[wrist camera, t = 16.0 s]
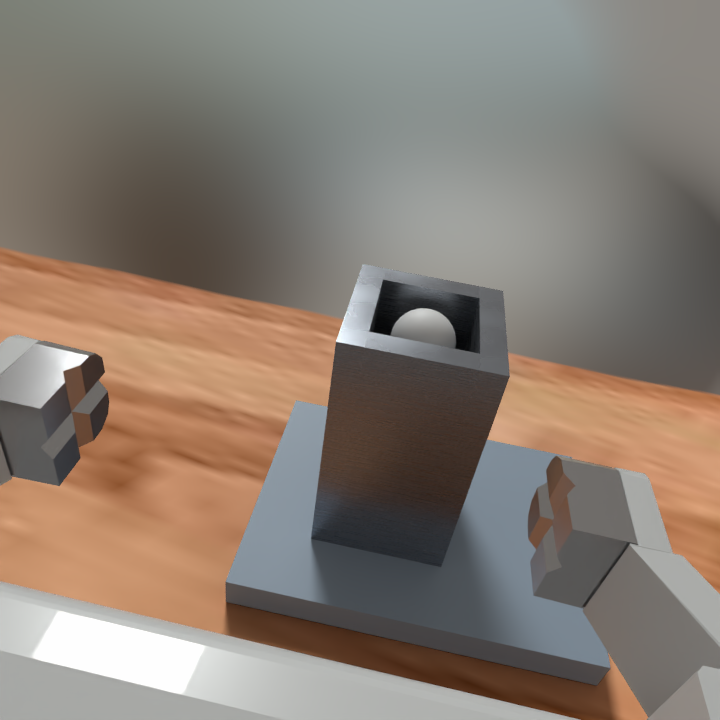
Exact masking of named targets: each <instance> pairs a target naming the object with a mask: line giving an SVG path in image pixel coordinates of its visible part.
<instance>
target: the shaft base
mask: <svg viewBox="0 0 720 720" xmlns="http://www.w3.org/2000/svg"><path fill="white" fill-rule="evenodd" d="M390 336H393V337H398V338H403V339H408V340H413V341H418V342H423V343H428V344H433V345H438V346H444V347H449V348H454V349H455V346H456V336H455V331H454V329H453V326H452V325H451V323H450V322H449V320H448V319H447V318H446V317H445V316H444V315H442V314H441V313H439V312H437V311H435V310H432V309H426V308H419V309H415V310H411V311H409V312H407V313H406V314H404V315H402V316H401V317H400V318H399V319H398V320H397V322H396V323H395V325H394V326H393V329H392V332H391V335H390ZM327 409H328V407H326V406H321V405H316V404H311V403H306V402H301V401H297V400H296V402H295V405H294V408H293V410H292V413H291V415H290V418H289V420H288V423H287V426H286V428H285V431H284V433H283V436H282V438H281V441H280V444H279V446H278V449H277V451H276V454H275V456H274V459H273V462H272V464H271V467H270V469H269V472H268V474H267V477H266V479H265V482H264V485H263V487H262V490H261V492H260V495H259V497H258V500H257V503H256V505H255V508H254V510H253V513H252V515H251V518H250V521H249V523H248V526H247V528H246V531H245V533H244V536H243V539H242V541H241V544H240V546H239V549H238V551H237V554H236V557H235V559H234V562H233V564H232V567H231V569H230V572H229V574H228V577H227V580H226V602H229V603H234V604H238V605H242V606H247V607H251V608H256V609H260V610H265V611H269V612H273V613H278V614H282V615H287V616H291V617H296V618H300V619H304V620H309V621H313V622H318V623H322V624H327V625H331V626H335V627H340V628H344V629H349V630H353V631H357V632H362V633H366V634H371V635H375V636H380V637H384V638H388V639H393V640H397V641H402V642H406V643H411V644H415V645H419V646H424V647H428V648H433V649H437V650H442V651H446V652H450V653H455V654H459V655H464V656H468V657H473V658H477V659H481V660H486V661H490V662H495V663H499V664H504V665H508V666H512V667H517V668H521V669H526V670H530V671H535V672H539V673H543V674H548V675H552V676H557V677H561V678H566V679H570V680H574V681H579V682H583V683H588V684H592V685H598V684H599V682H600V681H601V680H602V678H603V677H604V676H605V675H606V673H607V672H608V671H609V670H610V662H609V657H608V651H607V650H606V648H605V646H604V645H603V643H602V642H601V640H600V638H599V637H598V635H597V634H596V632H595V630H594V629H593V627H592V625H591V624H590V622H589V621H588V619H587V617H586V616H585V614H584V613H583V608H579V607H575V606H571V605H568V604H564V603H560V602H556V601H552V600H548V599H544V598H540V597H537V596H533V587H532V576H531V565H530V561H531V559H532V557H533V555H534V553H535V551H536V549H535V547H534V546H533V545H532V543H531V542H530V541H529V539H528V514H529V509H530V505H531V501H532V498H533V496H534V494H535V492H536V489H537V487H539V486H541V485H543V484H545V483H547V475H546V469H547V467H548V466H549V464H550V462H551V460H552V459H553V458H554V457H555V456H556V455H557V456H561V457H566V458H571V459H572V457H568V456H563V455H558V454H554V453H549V452H544V451H539V450H534V449H529V448H524V447H520V446H515V445H510V444H505V443H500V442H495V441H491V440H487V441H486V444H485V446H484V449H483V452H482V455H481V457H480V460H479V463H478V466H477V469H476V471H475V474H474V477H473V480H472V483H471V485H470V488H469V491H468V494H467V497H466V499H465V502H464V505H463V508H462V510H461V513H460V516H459V519H458V522H457V524H456V527H455V530H454V533H453V536H452V538H451V541H450V544H449V547H448V550H447V552H446V555H445V558H444V561H443V563H442V566H441V567H438V566H434V565H429V564H424V563H420V562H415V561H411V560H406V559H401V558H397V557H392V556H388V555H383V554H378V553H374V552H369V551H365V550H360V549H355V548H351V547H346V546H342V545H337V544H333V543H328V542H323V541H319V540H314V539H311V533H312V525H313V518H314V510H315V502H316V494H317V487H318V479H319V471H320V463H321V456H322V448H323V440H324V432H325V424H326V417H327Z"/></svg>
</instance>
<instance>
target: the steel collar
mask: <svg viewBox="0 0 720 720" xmlns="http://www.w3.org/2000/svg"><path fill="white" fill-rule="evenodd" d="M419 308H426V309H432V310H435V311H437V312H439V313H441V314H442V315H444V316H445V317H446V318H447V319H448V320H449V322H450V323H451V325H452V326H453V329H454V331H455V336H456V346H455V349H454V348H449V347H444V346H438V345H433V344H428V343H423V342H418V341H413V340H408V339H403V338H398V337H393V336H390V335H391V332H392V329H393V326H394V325H395V323H396V322H397V320H398V319H399V318H400V317H401V316H402V315H404V314H406V313H407V312H409V311H411V310H415V309H419ZM509 377H510V375H509V362H508V349H507V336H506V324H505V311H504V298H503V291H500V290H495V289H489V288H485V287H479V286H474V285H469V284H463V283H459V282H453V281H448V280H443V279H438V278H433V277H427V276H422V275H417V274H412V273H406V272H401V271H395V270H391V269H386V268H381V267H375V266H370V265H365V264H363V265H362V268H361V271H360V274H359V277H358V280H357V283H356V286H355V289H354V292H353V294H352V297H351V300H350V303H349V306H348V309H347V312H346V315H345V318H344V320H343V323H342V326H341V329H340V332H339V335H338V338H337V341H336V347H335V355H334V362H333V370H332V378H331V386H330V393H329V401H328V409H327V417H326V424H325V432H324V440H323V448H322V456H321V463H320V471H319V479H318V487H317V494H316V502H315V510H314V518H313V525H312V533H311V539H314V540H319V541H323V542H328V543H333V544H337V545H342V546H346V547H351V548H355V549H360V550H365V551H369V552H374V553H378V554H383V555H388V556H392V557H397V558H401V559H406V560H411V561H415V562H420V563H424V564H429V565H434V566H438V567H441V566H442V563H443V561H444V558H445V555H446V552H447V550H448V547H449V544H450V541H451V538H452V536H453V533H454V530H455V527H456V524H457V522H458V519H459V516H460V513H461V510H462V508H463V505H464V502H465V499H466V497H467V494H468V491H469V488H470V485H471V483H472V480H473V477H474V474H475V471H476V469H477V466H478V463H479V460H480V457H481V455H482V452H483V449H484V446H485V444H486V441H487V438H488V435H489V432H490V430H491V427H492V424H493V421H494V418H495V416H496V413H497V410H498V407H499V404H500V402H501V399H502V396H503V393H504V391H505V388H506V385H507V382H508V379H509Z"/></svg>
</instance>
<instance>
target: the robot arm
mask: <svg viewBox="0 0 720 720" xmlns="http://www.w3.org/2000/svg"><path fill="white" fill-rule="evenodd" d="M104 373H105V370H104V365H103V360H102V357H100V356H99V355H97V354H96V353H92V352H87V351H83V350H79V349H75V348H71V347H67V346H63V345H59V344H55V343H51V342H47V341H40V340H36V339H32V338H28V337H24V336H20V335H15V336H11V337H8V338H6V339H5V340H4V341H3V342H2V343H1V344H0V485H2V484H4V483H5V482H7V481H9V480H11V479H12V477H11V476H13V477H18V478H23V479H28V480H32V481H37V482H42V483H47V484H52V485H57V486H60V484H61V483H62V482H63V480H64V479H65V478H66V477H67V475H68V474H69V473H70V471H71V470H72V469H73V467H74V466H75V465H76V463H77V462H78V461H79V459H80V453H79V447H81V446H83V445H85V444H87V443H89V442H91V441H93V440H94V439H95V438H96V437H97V435H98V434H99V432H100V431H101V430H102V428H103V425H104V423H105V420H106V417H107V415H108V407H109V398H108V391H107V390H106V389H105V387H104V386H103V385H102V384H101V383H100V382H99V379H100V377H101V376H102V375H103V374H104ZM546 475H547V483H545V484H543V485H541V486H539V487H537V489H536V492H535V494H534V496H533V498H532V501H531V505H530V509H529V514H528V539H529V541H530V542H531V543H532V545H533V546H534V547H535V549H536V551H535V553H534V555H533V557H532V559H531V561H530V565H531V576H532V587H533V596H537V597H540V598H544V599H548V600H552V601H556V602H560V603H564V604H568V605H571V606H575V607H579V608H583V613H584V614H585V616H586V617H587V619H588V621H589V622H590V624H591V625H592V627H593V629H594V630H595V632H596V634H597V635H598V637H599V638H600V640H601V642H602V643H603V645H604V646H605V648H606V650H607V651H608V653H609V654H610V656H611V658H612V659H613V661H614V663H615V664H616V666H617V667H618V669H619V671H620V672H621V674H622V675H623V677H624V679H625V680H626V682H627V683H628V685H629V687H630V688H631V690H632V691H633V693H634V695H635V696H636V698H637V700H638V701H639V703H640V704H641V706H642V708H643V709H644V711H645V712H646V714H647V716H648V717H649V718H648V719H647V720H720V594H719V593H718V592H717V591H716V590H715V589H714V588H713V587H712V586H711V585H710V584H709V583H708V582H707V581H706V580H705V579H704V578H703V577H702V576H701V575H700V574H699V573H698V571H697V570H696V569H695V568H694V567H693V566H692V565H691V564H690V563H689V562H688V561H687V560H686V559H685V558H684V557H683V556H682V555H677V554H673V551H672V548H671V545H670V542H669V539H668V536H667V533H666V530H665V527H664V523H663V520H662V517H661V514H660V511H659V508H658V505H657V502H656V499H655V496H654V493H653V489H652V486H651V483H650V480H649V478H648V477H647V476H646V475H645V474H644V473H639V472H634V471H629V470H625V469H620V468H612V467H608V466H603V465H599V464H594V463H589V462H585V461H580V460H575V459H571V458H566V457H561V456H557V455H556V456H555V457H554V458H553V459H552V460H551V462H550V464H549V466H548V467H547V469H546ZM0 720H579V719H575V718H571V717H567V716H563V715H558V714H554V713H550V712H546V711H542V710H538V709H533V708H529V707H525V706H521V705H517V704H512V703H508V702H504V701H500V700H496V699H492V698H487V697H483V696H479V695H475V694H471V693H466V692H462V691H458V690H454V689H450V688H445V687H441V686H437V685H433V684H429V683H424V682H420V681H416V680H412V679H408V678H403V677H399V676H395V675H391V674H387V673H383V672H378V671H374V670H370V669H366V668H362V667H357V666H353V665H349V664H345V663H341V662H336V661H332V660H328V659H324V658H320V657H315V656H311V655H307V654H303V653H299V652H294V651H290V650H286V649H282V648H278V647H274V646H269V645H265V644H261V643H257V642H253V641H248V640H244V639H240V638H236V637H232V636H227V635H223V634H219V633H215V632H211V631H206V630H202V629H198V628H194V627H190V626H186V625H181V624H177V623H173V622H169V621H165V620H160V619H156V618H152V617H148V616H144V615H139V614H135V613H131V612H127V611H123V610H118V609H114V608H110V607H106V606H102V605H98V604H93V603H89V602H85V601H81V600H77V599H73V598H68V597H64V596H60V595H56V594H52V593H47V592H43V591H39V590H35V589H31V588H27V587H22V586H18V585H14V584H10V583H6V582H1V581H0Z"/></svg>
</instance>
